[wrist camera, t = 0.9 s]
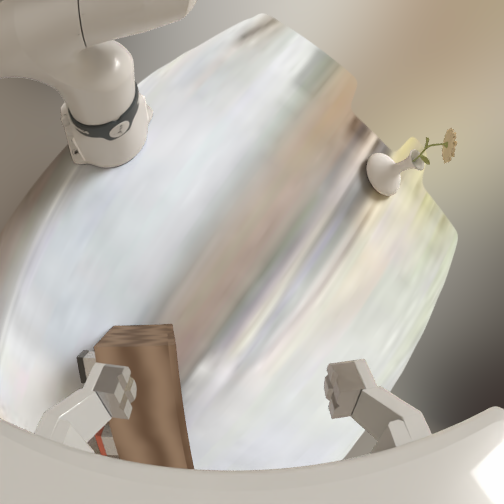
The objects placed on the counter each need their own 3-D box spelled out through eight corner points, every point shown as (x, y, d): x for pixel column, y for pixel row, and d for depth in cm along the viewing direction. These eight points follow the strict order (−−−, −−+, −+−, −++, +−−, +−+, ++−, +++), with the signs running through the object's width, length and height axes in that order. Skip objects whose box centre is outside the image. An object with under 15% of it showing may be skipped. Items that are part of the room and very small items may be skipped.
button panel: (133, 437, 45) (128, 485, 30) (113, 325, 47) (93, 346, 31) (186, 435, 48) (196, 482, 33) (172, 323, 50) (175, 344, 35)
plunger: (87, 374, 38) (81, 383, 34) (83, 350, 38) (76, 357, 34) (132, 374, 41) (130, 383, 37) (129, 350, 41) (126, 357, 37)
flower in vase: (385, 206, 67) (464, 182, 43) (356, 174, 64) (433, 137, 41) (401, 173, 70) (472, 146, 46) (375, 143, 68) (443, 105, 44)
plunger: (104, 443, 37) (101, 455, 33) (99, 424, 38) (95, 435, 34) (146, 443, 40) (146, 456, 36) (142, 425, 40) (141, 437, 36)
